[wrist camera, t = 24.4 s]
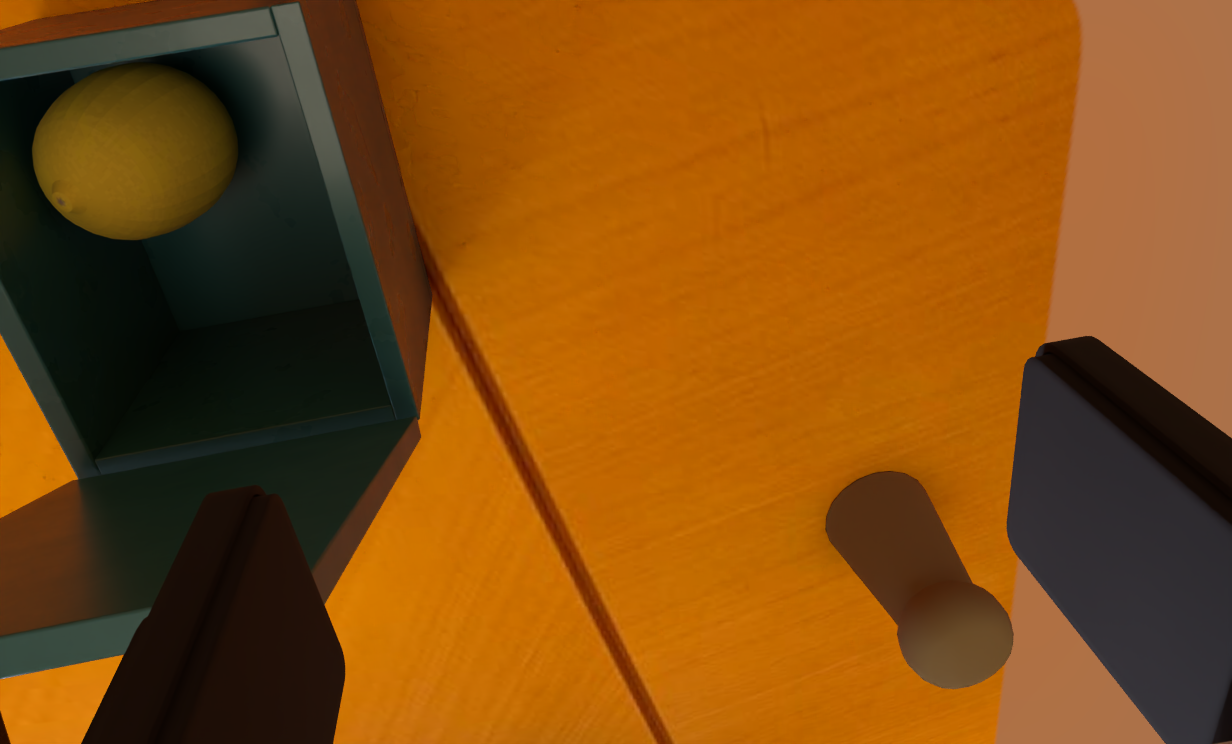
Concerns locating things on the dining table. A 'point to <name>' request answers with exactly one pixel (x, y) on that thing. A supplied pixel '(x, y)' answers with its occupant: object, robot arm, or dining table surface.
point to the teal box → (217, 245)
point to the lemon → (135, 151)
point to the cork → (920, 580)
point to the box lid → (173, 536)
